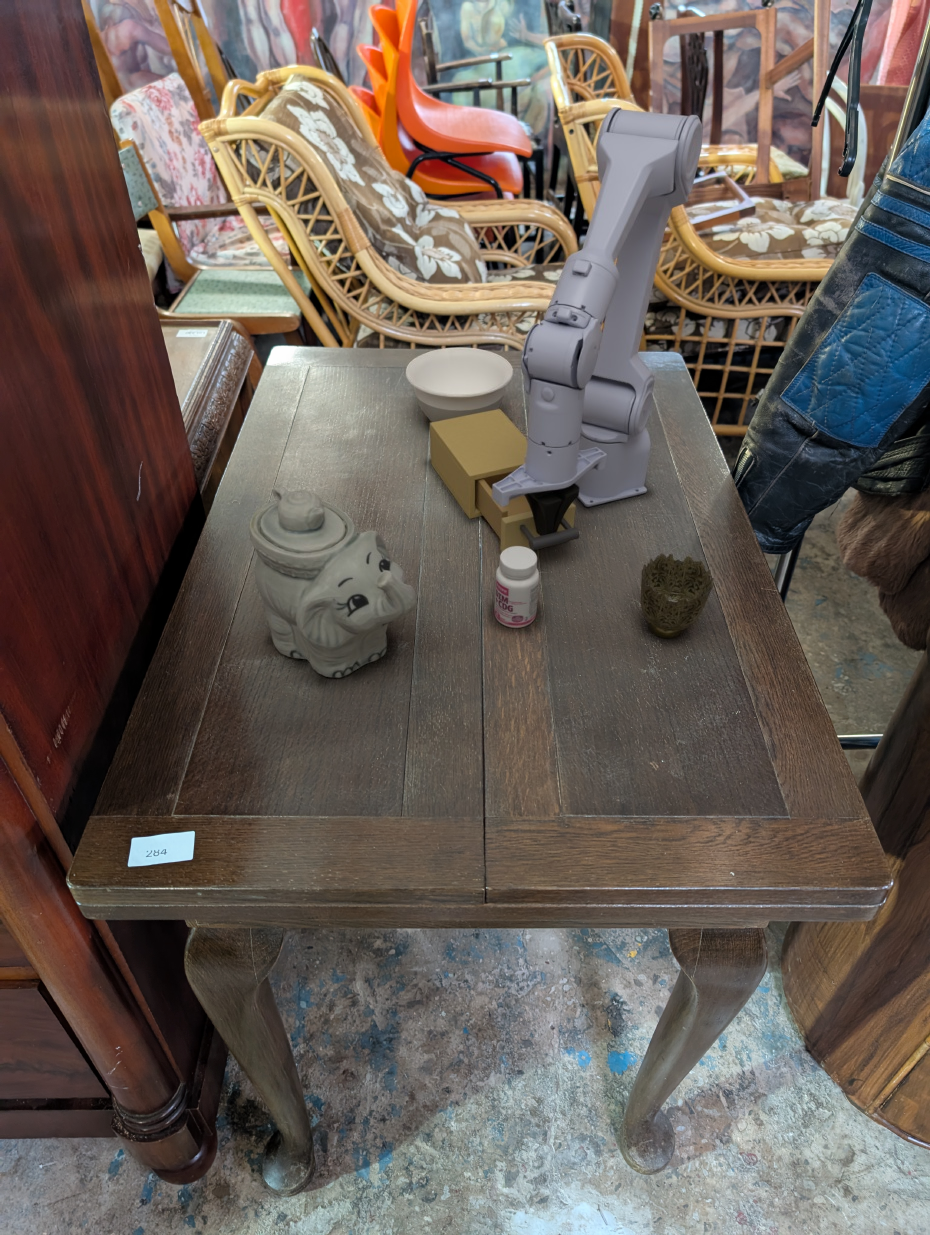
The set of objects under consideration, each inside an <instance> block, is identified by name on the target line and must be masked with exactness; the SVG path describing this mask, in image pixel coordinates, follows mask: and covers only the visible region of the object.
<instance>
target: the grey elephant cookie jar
mask: <svg viewBox="0 0 930 1235" xmlns="http://www.w3.org/2000/svg"><path fill="white" fill-rule="evenodd" d="M272 495H273V497H274V499H275V500H273V501H270V502H267V503H265V504H263V505H262V506H260V507H259V508H258V509H257V510H256V511H255V513H253V514H252V516H251V518H250V520H249V526H248V527H249V528H248V529H249V530H248V532H249V533H248V534H249V540H250V542H251V543H252V547H253V548H254V550H255V552H256V554H257V558H256V561H255V564H254V570H253V572H254V583H255V586H256V589H257V591H258V593H259V595H260V599H261V600H260V602H261V607H262V610H263V612H264V616H265V618H266V620H267V623H268V626H269V628H270V634H271V638H272V643H273V645H274V647H275V648H276V650H277V651H278V652H279V653H280V654H281V655H284V656H285V657H288V658H289V657H290V658H293V659H303V660H307V661H308V662H309V664H310V666H311V668H312V669H313V670H314V671H315V672H316V673H318V674H320V675H321V676H324V677H328V678H335V679H340V678H342V677H346V676H348V675H350V674H351V673H353V672H354V671H356V670H357V669H360V668H361V667H362V666H364V665H366V664H369V663H372V662H375V661H377V660H379V659H380V658H382V657H384V656H385V654H386V652H387V649H388V639H387V631H388V626H389V624H391V623H393V622H395V621H398V620H401V619H402V618H404V617H406V616H407V615H409V614H411V613H413V611H414V609H415V608H416V606H417V594H416V591H415V589H414V587H413V586H412V585H410V584H408V581H407V580H408V579H407V576H406V573H405V572H404V570H403V568H402V567H401V566H400V565H399V564H398V563H396V562H395V561H392V560H391V557H390V556H391V555H390V553H389V551H388V548H387V546H386V543H385V541H384V539H383V537H382V536H381V534H380V533H379V532H378V531H376V530H365V531H363V532H361V533H358V532H357V528H356V525H355V523H354V521H353V519H352V518H351V517H350V516H349V515H348V514H347V512H346V511H344V510H343V509H341V508H340V507H339V506H336V505H334V504H333V503H330V502H329V501H326V500H322V499H321V497H319V496H318V495H317V494H316V493H315V492H313V491H309V490H306V489H298V490H293V491H288V489H286V487H284V486H283V485H281V484H276V485H274V486H273V487H272Z"/></svg>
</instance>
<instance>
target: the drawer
mask: <svg viewBox="0 0 930 1235" xmlns="http://www.w3.org/2000/svg"><path fill="white" fill-rule="evenodd" d="M513 472H514V471H513ZM511 473H512V472H508V473H504V474H499V475H495V476H491V477H486V478H482V479H477V480H475V505H476V506H477V507H478V509H479V510H480V512H481V513H482V514H483V516H482V517H484V519H485V520H486V521H487V522H488V523H487V524H489V526H490V527H491V528H492V530H493V532H494V533H495V534H496V535H497V537H498V539H500V548H499V549H500V552H501V553H502V552H503V551H504V550H505V549H507V548H509V547H513V546H522V547H526V548H529V549H531V550H532V551H536V550H540V549H543V548H548V547H551V546H556V545H559V544H563V543H567V542H571V541H575V540H579V539H580V531H579V529H578V528H577V527H575V518H576V511H577V506H576V504H575V503H574V502H573V503H572V504H571V505H570V507H569V508H568V509H567V511H566V513H565V515H564V517H563V519H562V521H561V523H560V525H559V528H558V530H557V532H555V533H551V534H547V535H543V536H540V535H539V534H538V533H537V532H536V526H535V521H534V517H533V514H532V511H531V508H530V506H529V503H528V501H527V499H526V497H525V495H522V496H519V497H517V498H514V499H511V500H509V504H508V505H506V506H504V507H501V506H500V505H499V504H498V503H496V502H495V501H494V500H493V499H492V485H493V484H495V483H497V482H499V481H501V480H503V479H504V478H506V477H507V476H508V475H510V474H511Z"/></svg>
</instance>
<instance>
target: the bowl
mask: <svg viewBox="0 0 930 1235" xmlns="http://www.w3.org/2000/svg"><path fill="white" fill-rule="evenodd" d="M405 377H406V380H407V381H408V383H410V385H412V386H413V393H414V396H415V399H416V402H417V404H418V406H419V407H420V409H421V410H422V412H423V414H424V415H425V416H426V417H427V418H428V420H429V421H430V423H431V422H436V421H441V420H446V419H451V418H456V417H461V416H466V415H471V414H476V413H481V412H486V411H491V410H496V409H499V407H500V406H501V404H502V402H503V399H504V395H505V393H506V386H507V385H508V384H509V382H511V381H512V379H513V377H514V369H513V366H512V364H511V363H510V362H509V361H508V360H507V359H506V358H505V357H503V356H501V355H499V354H497V353H495V352H492V351H490V350H486V349H485V350H484V349H481V348H474V347H458V346H456V347H446V348H438V349H434V350H431V351H428V352H425V353H422V354H420V355H418V356H416V357H414V358H413V359H412V360H411V361H410V362H409V363H408V365H407V366H406V369H405Z"/></svg>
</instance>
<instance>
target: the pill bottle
mask: <svg viewBox="0 0 930 1235" xmlns="http://www.w3.org/2000/svg"><path fill="white" fill-rule="evenodd" d="M494 582H495V586H494V611H493V612H494V616H495V619H496V620H497V621H498V622H499V623H500V624H501V625H503V626H505V627H507V628H513V629H519V628H524V627H527V626H529V625H531V624H532V622H534V620H535V619H536V617H537V610H538V600H539V599H538V598H539V586H540V571H539V570H538V556H537V554H536V552H535V551H534V550H531V549H529V548H526V547H522V546H513V547H509V548H507V549H505V550H504V551H503V552H502V551H501V553H500V555H499V562H498V567H497V568H496V571H495V581H494Z"/></svg>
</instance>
